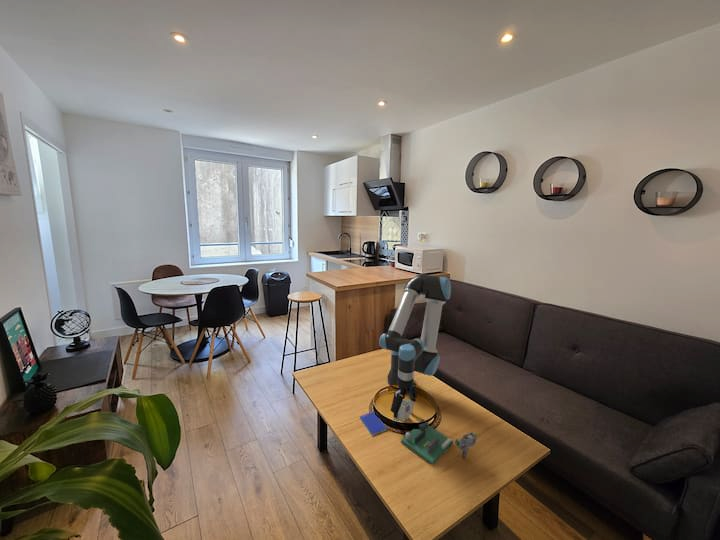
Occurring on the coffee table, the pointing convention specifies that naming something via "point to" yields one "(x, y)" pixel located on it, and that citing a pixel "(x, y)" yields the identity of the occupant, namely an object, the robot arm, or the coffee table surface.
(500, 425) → the coffee table surface
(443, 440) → the board
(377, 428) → the hard drive
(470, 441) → the mechanical component
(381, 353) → the coffee table surface
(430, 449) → the header
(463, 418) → the coffee table surface
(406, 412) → the plug
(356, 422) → the coffee table surface
